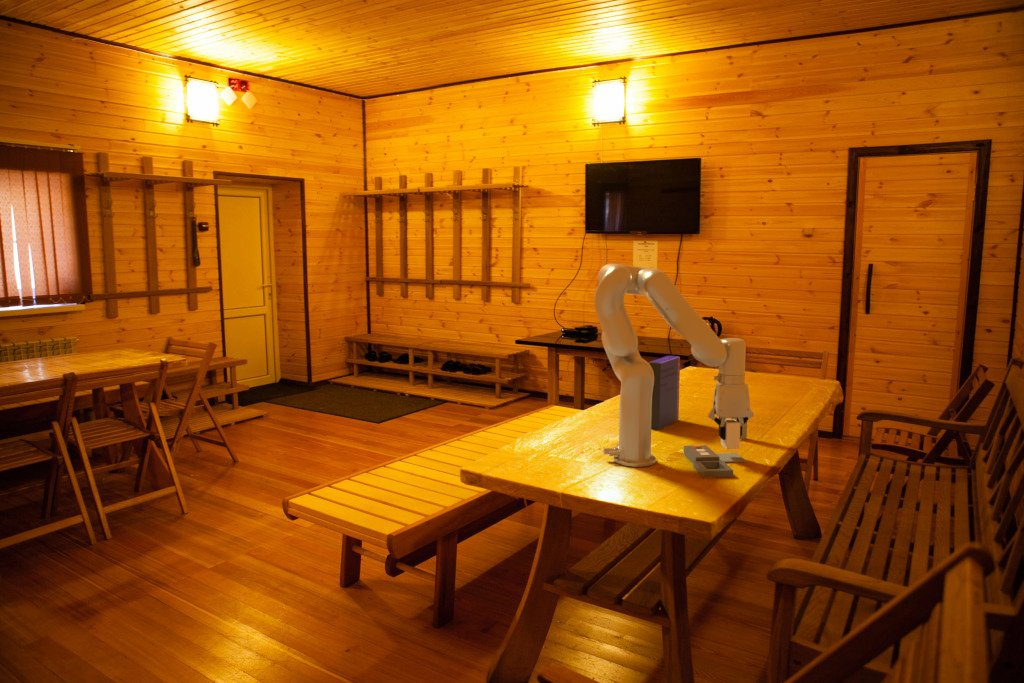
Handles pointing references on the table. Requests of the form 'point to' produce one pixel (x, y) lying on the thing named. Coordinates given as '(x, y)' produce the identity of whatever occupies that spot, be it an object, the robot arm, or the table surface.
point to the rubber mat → (731, 457)
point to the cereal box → (665, 391)
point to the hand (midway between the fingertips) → (730, 437)
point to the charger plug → (731, 434)
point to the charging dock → (707, 461)
